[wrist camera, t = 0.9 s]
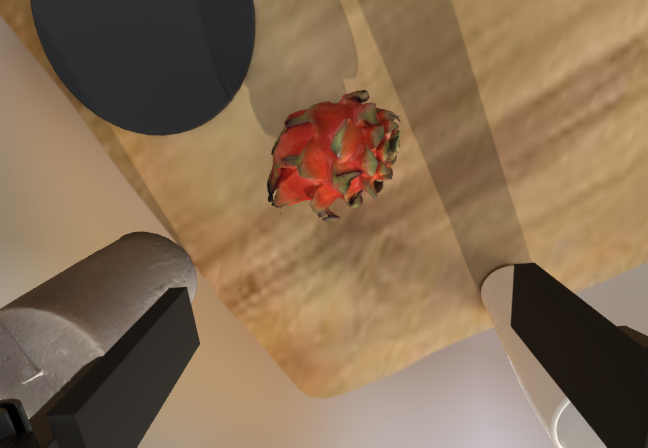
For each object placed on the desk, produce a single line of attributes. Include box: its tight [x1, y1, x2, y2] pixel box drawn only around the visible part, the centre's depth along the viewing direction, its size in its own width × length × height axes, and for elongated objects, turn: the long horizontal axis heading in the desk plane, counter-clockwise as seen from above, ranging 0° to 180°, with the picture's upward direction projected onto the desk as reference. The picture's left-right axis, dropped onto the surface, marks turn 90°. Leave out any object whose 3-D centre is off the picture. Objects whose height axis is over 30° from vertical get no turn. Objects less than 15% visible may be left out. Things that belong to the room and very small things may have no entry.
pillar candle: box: [0, 232, 197, 418], centre depth 30 cm, size 10×10×15 cm
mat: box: [31, 0, 255, 135], centre depth 29 cm, size 18×18×1 cm
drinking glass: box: [481, 266, 607, 448], centre depth 27 cm, size 7×7×15 cm
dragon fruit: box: [267, 90, 401, 221], centre depth 28 cm, size 8×8×12 cm
